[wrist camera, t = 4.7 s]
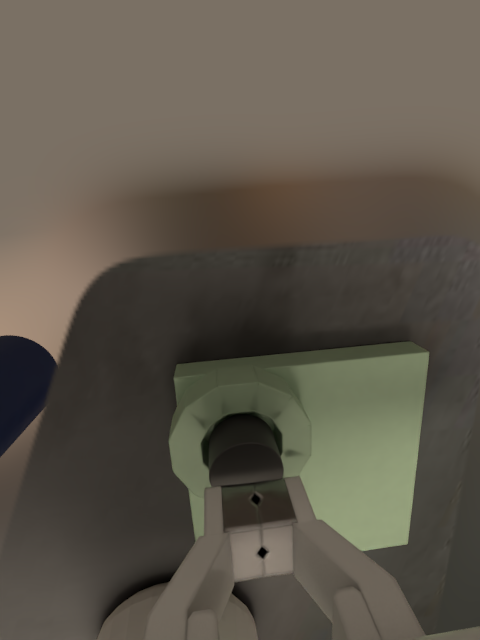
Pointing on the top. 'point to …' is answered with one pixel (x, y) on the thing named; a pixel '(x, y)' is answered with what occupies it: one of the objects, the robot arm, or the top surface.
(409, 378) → the green block with ring
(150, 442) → the top surface
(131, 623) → the mug
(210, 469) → the button
